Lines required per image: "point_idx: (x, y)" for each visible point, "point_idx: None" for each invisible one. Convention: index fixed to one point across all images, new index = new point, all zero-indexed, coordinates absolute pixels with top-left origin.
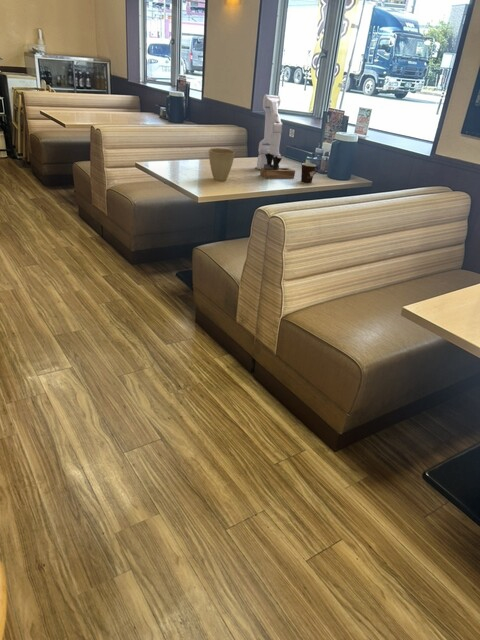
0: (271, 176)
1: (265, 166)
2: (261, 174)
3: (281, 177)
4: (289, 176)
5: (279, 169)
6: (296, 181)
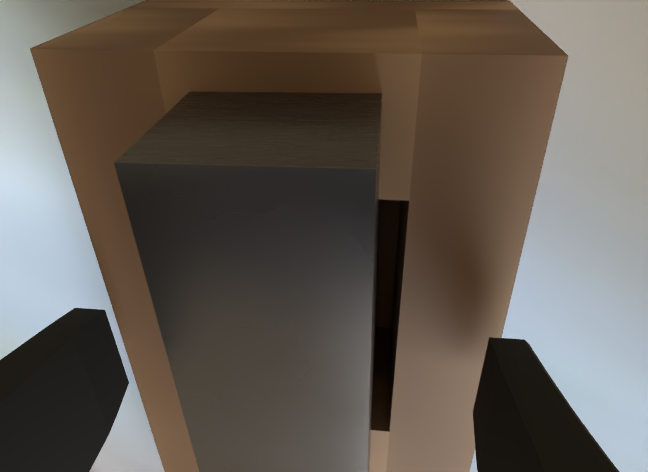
0: None
1: (226, 135)
2: (433, 8)
3: None
4: None
5: None
6: None
